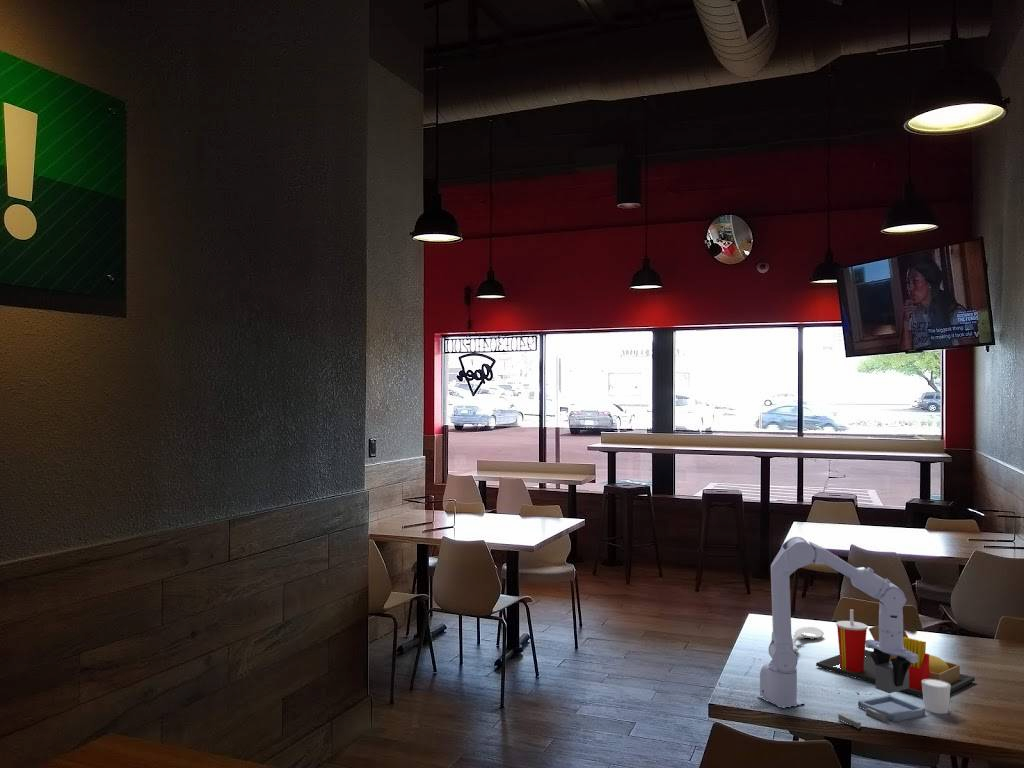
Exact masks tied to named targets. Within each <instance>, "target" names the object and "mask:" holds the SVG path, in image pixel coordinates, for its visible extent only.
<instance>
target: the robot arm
mask: <svg viewBox="0 0 1024 768" xmlns="http://www.w3.org/2000/svg"><path fill="white" fill-rule="evenodd" d="M812 563H813V564H814V565H826V566H827V567H829V568H831V569H833V570H835V571H837V572H839V573H840V574H841V575H844V576H845V577H847V578H849V579H850V582H851V585H852V586H853V587H854V588H856V589H858V590H860V591H861V592H863V593H865V594H867V595H868V596H870V597H872V598H873V599H876V600H878V601H879V603H878V604H879V605H878V606H879V610H878V625H879V641H874V639H866V643H865V649H866V648H867V649H872V650H873V651H872V652H870V655H871V657H872V659H873V660H874V663H875V665H879V664H883V663H888V662H889V659H890V655H893V656H896V657H897V658H894V659H891V662H892V665H893V670H894V681H895V686H902V685H903V682H904V678H905V675H906V672H907V670H908V668H909V667H910V665H911V664H912V663H917V662H918V655H917V654H914V653H912V652H910V651H908V650H906V649H905V648H904V646H903V628H904V614H903V612H904V611H903V607H904V606H905V605H906V603H907V598H906V595H905V593H904V591H903V590H902V589H901V588H900V587H898V586H897V585H896V584H894V583H893V582H891V580H890V579H888V578H884V577H881V576H880V575H878V574H877V573H875V571H874V569H872V568H871V567H869V566H868V567H864V566H861V567H860V566H859V567H855V566H853V565H851V564H850V563H848V562H847V561H845V560H843V559H842V558H840V557H839V556H837V555H835V554H834V553H832V552H831V551H829V550H827V549H826V548H824V547H822V546H820V545H818V544H816V543H815V542H811V541H807V540H806V539H805V538H803V537H801V536H793V537H791V538H789V539H787V540H786V541H784V543H782V544H781V547H780V549H779V551H778V553H777V554H776V556H775V557H774V558H773V561H772V562H771V564H770V584H771V585H770V587H771V588H770V589H771V591H770V592H771V612H772V613H771V616H772V617H771V618H772V619H771V620H772V632H771V641H770V643H769V645H768V648H767V649H768V654H769V656H770V658H771V660H770V662H767V663H765V664H764V665H762V667H761V669H760V672H759V694H758V695H759V696H763V697H761V698H764V699H765V700H768V701H769V702H772V703H773V704H776V705H778V706H780V707H782V708H783V707H789V706H794V707H796V706H795V705H799V706H802V705H801V704H804V705H805V702H804V701H801V700H799V699H798V689H797V688H798V668H797V666H798V656H797V654H796V652H794V650H793V641H792V639H793V636H792V635H793V634H792V617H791V616H792V613H791V608H792V607H791V586H790V585H791V584H790V582H791V581H790V576H791V575H792V574H793V573H795V572H796V571H797V570H798V569H801V568H803V567H806V566H808V565H810V564H812ZM761 698H760V699H761ZM765 700H764V701H765ZM769 702H768V703H769ZM773 704H772V705H773ZM782 708H781V709H782ZM789 708H790V707H789Z"/></svg>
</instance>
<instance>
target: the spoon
mask: <svg viewBox="0 0 1024 768" xmlns="http://www.w3.org/2000/svg"><path fill="white" fill-rule="evenodd" d="M804 632H805V633H811V634H812V633H813V634H815V635H816V636H807V635H804V634H802V633H804ZM823 636H824V631H823V630H821V629H820V628H818V627H815V626H814V627H813V626H804V627H801V628H798V629H797V630H796V629H795V632H794V635H793V637H792V641H793V650H794V653H796V652H798V651H799V647H797V646H796V642H797V640H800V639H805V638H810V639H809V640H815V639H814V638H817V639H819V638H821V637H823Z"/></svg>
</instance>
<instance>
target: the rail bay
mask: <svg viewBox="0 0 1024 768" xmlns="http://www.w3.org/2000/svg"><path fill="white" fill-rule="evenodd" d="M866 714H868V715H867V716H869V715H870V716H869V717H871V716H872V717H871V718H873V717H875V718H874V719H876V718H877V719H876V720H878V719H879V721H880V720H881V721H880V722H883V723H885V722H887V723H889V721H890V720H889V716H887V715H885V714H882V713H880V712H877V711H875V710H873V709H870V708H866V710H865V715H866ZM837 717H838V718H837V720H838V719H839V720H842V721H844V722H846V723H848V724H851V725H853V726H854V727H856V728H857V729H856V728H855V729H856V730H860V729H861V728H860V727H861V726H862V724H861V722H862V721H861V722H860V721H859V720H857V719H854V718H852V717H850V716H847V715H845V714H843V713H838V715H837ZM839 720H838V721H839ZM846 723H845V724H846ZM848 724H847V725H848ZM854 727H853V728H854ZM859 728H860V729H859Z"/></svg>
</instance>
